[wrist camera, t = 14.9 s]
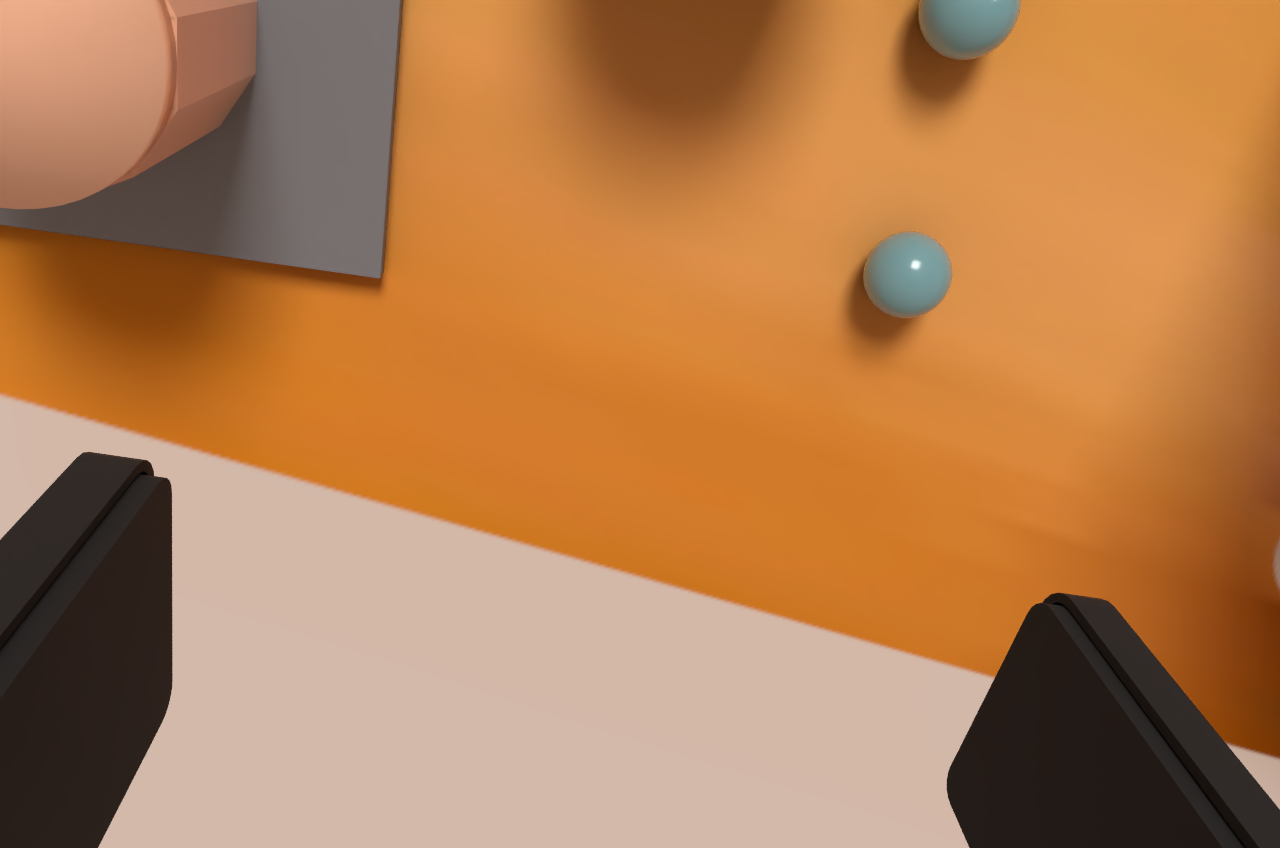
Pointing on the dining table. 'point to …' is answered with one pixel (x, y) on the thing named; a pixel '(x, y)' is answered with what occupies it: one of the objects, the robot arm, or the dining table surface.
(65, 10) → the peach rounded capsule
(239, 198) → the mat
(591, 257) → the dining table surface
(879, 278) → the marble
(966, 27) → the marble
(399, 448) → the dining table surface
